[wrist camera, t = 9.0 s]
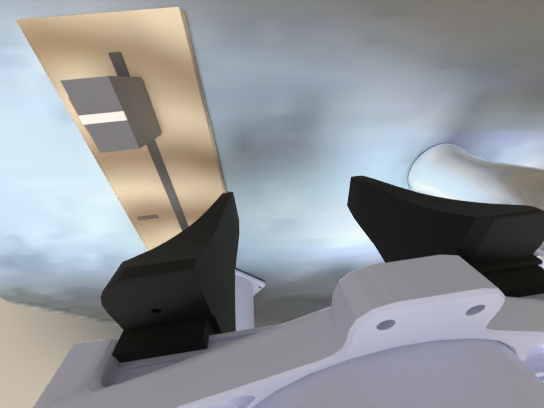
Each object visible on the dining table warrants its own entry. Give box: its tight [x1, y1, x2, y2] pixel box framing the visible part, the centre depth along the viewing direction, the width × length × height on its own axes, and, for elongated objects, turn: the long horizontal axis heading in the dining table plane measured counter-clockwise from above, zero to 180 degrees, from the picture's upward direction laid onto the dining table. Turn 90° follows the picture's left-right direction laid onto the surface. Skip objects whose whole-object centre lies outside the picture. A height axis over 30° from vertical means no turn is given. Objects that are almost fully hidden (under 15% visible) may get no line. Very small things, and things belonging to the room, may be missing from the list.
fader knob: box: [61, 76, 162, 153], centre depth 14 cm, size 4×2×4 cm, turn 5°
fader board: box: [16, 7, 227, 251], centre depth 19 cm, size 20×10×2 cm, turn 5°
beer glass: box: [408, 143, 544, 269], centre depth 17 cm, size 7×7×15 cm
